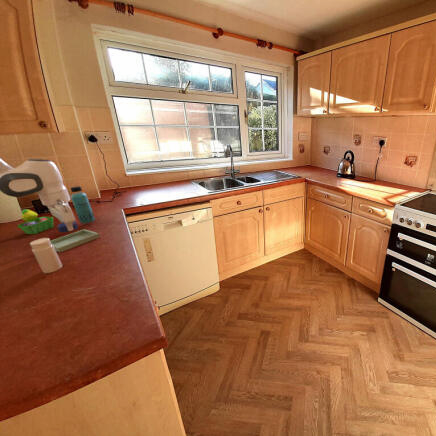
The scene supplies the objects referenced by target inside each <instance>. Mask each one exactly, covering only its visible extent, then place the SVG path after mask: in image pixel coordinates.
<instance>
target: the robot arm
mask: <svg viewBox="0 0 436 436" xmlns="http://www.w3.org/2000/svg"><path fill="white" fill-rule="evenodd" d="M63 180H64V179H63V177H62V174H61V172H60V170H59V168H58V166H57V165H56V163H54V162H53V161H51V160H49V159H44V158H43V159H42V158H30V159H26V160H25V161H24V162H23V163H21V164H19V165H18V166H16V167H14V166H12V165H10V164H8V163H6V162H5V161H4V160H3V159H2V158H0V192H1V193H2V194H4V195H6V196H8V197H12V198H23V197H27V196H30V195H33V194H36V193H37V195H38V197H39V200H40V201H41V204H42V205H43V206H46V207H47V208H48V210H49V212H50V214H51V215H52V217H55V218H56V219H57V220H58V221H59V222H60V224H61V223H65V224H66V227H67V230H68V231H69V232H72V230H73V231H75V230H74V228H73V225H72V223H73V222H77V221H76V217H75V214H74V212H73V210H72V208H71V207H70V205H69V202H70V201H72V199H71V196H70V194H69V191H68V189H67V187H66V186H65V185H64V181H63Z"/></svg>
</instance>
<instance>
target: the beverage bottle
mask: <svg viewBox="0 0 436 436" xmlns="http://www.w3.org/2000/svg"><path fill="white" fill-rule="evenodd" d="M70 191H71V193H73V194H71V196H70V199H71V201H72V204H73V207H74V210H75V213H76V216H77V219H78V221H79V223H80V224H88V223H92V222H94V221H96V217H95V215H94V211H93V209H92V206H91V203H90V201H89V198H88V196H87V194H86V193H85V192H82V191H83V189H82V186H79V185H78V186H72V187H71V188H70Z"/></svg>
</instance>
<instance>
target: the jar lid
mask: <svg viewBox="0 0 436 436" xmlns="http://www.w3.org/2000/svg"><path fill="white" fill-rule="evenodd" d="M72 225H73V228H74V230H72V231H76V230H77V229H79V226H78V223H77V221H75V222H73V223H72ZM56 227H57V230H58V232H59V233H68V232H70V231H68V230H67V227H66V224H65V223H61V222H60V223H59V224H57V225H56ZM72 231H71V232H72Z"/></svg>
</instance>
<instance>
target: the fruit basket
mask: <svg viewBox="0 0 436 436" xmlns="http://www.w3.org/2000/svg"><path fill="white" fill-rule="evenodd" d="M20 212H21V218H22V220H23V221H24V222H22V223H20V224H17V227H18V228H19V229H20V230H21V231H23V233H25V234H26V235H37V234H38V233H42V232H45V231H48V230H49V229H53V228H54V216H40V217H38V216H39V215H38V213H37V212H35V211H33V210H31V209H26V208H25V209H21V211H20Z"/></svg>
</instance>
